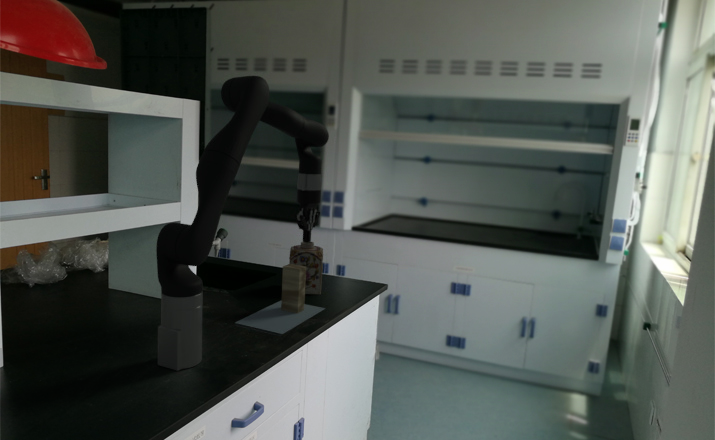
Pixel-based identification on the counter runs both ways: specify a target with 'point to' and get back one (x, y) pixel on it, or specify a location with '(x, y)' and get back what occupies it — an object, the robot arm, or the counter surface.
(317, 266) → the decorative jar
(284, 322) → the mat
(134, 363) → the counter surface
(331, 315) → the counter surface
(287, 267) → the maple block
